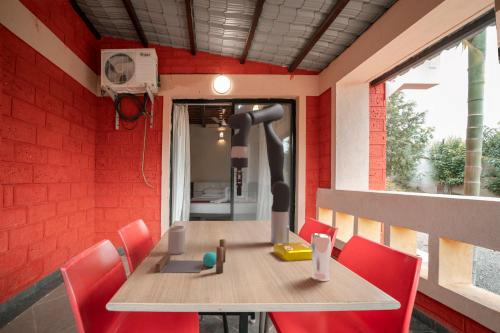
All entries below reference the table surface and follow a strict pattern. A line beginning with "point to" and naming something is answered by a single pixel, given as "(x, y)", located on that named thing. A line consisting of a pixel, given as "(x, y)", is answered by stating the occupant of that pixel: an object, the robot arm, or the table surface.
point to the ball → (209, 259)
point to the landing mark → (183, 266)
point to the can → (176, 240)
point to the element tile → (293, 251)
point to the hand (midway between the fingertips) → (239, 195)
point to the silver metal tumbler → (320, 256)
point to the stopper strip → (162, 262)
